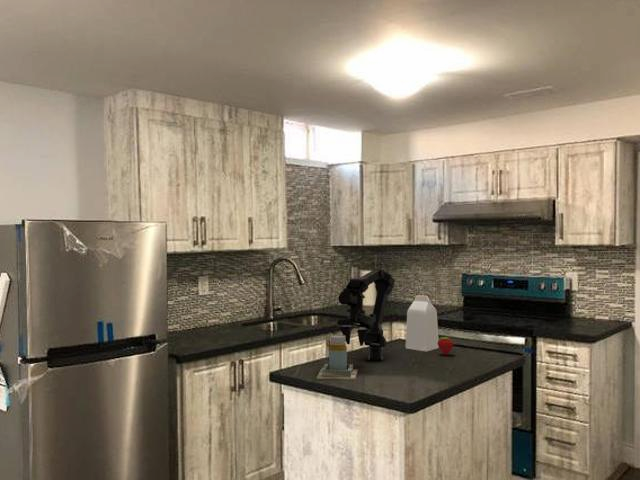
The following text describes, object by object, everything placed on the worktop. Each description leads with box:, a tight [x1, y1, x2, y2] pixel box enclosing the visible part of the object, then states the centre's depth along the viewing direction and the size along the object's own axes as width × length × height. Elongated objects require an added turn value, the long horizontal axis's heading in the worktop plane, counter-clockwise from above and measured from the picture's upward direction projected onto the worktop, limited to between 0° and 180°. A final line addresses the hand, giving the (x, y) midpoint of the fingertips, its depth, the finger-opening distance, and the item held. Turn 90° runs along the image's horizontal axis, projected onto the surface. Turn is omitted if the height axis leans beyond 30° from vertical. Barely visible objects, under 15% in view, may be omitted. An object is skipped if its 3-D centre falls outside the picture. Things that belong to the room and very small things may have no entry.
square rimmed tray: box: [316, 363, 359, 381], centre depth 230 cm, size 15×15×3 cm
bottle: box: [328, 334, 348, 370], centre depth 230 cm, size 7×7×15 cm
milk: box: [405, 294, 440, 353], centre depth 282 cm, size 12×12×26 cm
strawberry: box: [437, 336, 454, 356], centre depth 265 cm, size 6×8×10 cm
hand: (354, 345), depth 239 cm, fingers open, 9 cm apart
